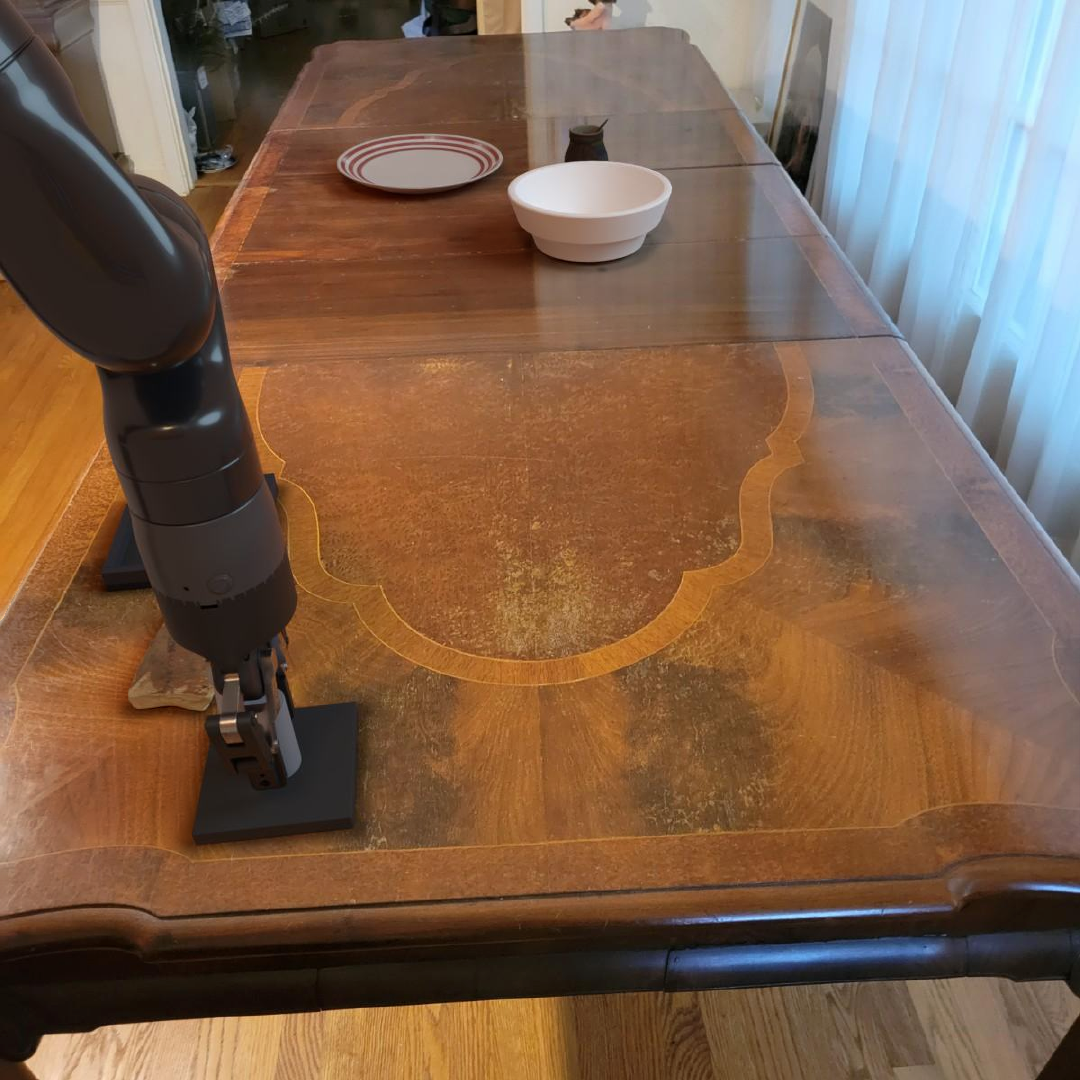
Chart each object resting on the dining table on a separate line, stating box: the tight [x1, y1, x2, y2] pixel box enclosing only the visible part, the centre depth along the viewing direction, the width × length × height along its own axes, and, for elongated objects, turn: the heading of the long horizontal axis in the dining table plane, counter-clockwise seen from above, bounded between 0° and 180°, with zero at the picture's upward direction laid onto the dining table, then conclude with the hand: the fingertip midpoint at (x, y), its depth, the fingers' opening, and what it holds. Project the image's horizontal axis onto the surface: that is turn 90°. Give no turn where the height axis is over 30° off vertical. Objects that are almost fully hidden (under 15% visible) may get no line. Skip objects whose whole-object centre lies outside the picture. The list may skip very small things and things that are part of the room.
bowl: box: [507, 160, 673, 263], centre depth 136 cm, size 22×22×8 cm
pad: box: [191, 689, 359, 846], centre depth 65 cm, size 10×10×7 cm
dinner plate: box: [336, 133, 504, 195], centre depth 164 cm, size 27×27×3 cm
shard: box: [127, 621, 215, 712], centre depth 75 cm, size 11×8×2 cm
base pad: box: [100, 472, 279, 592], centre depth 87 cm, size 13×13×2 cm
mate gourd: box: [563, 118, 610, 163], centre depth 158 cm, size 7×8×10 cm
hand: (275, 749), depth 65 cm, fingers open, 5 cm apart
